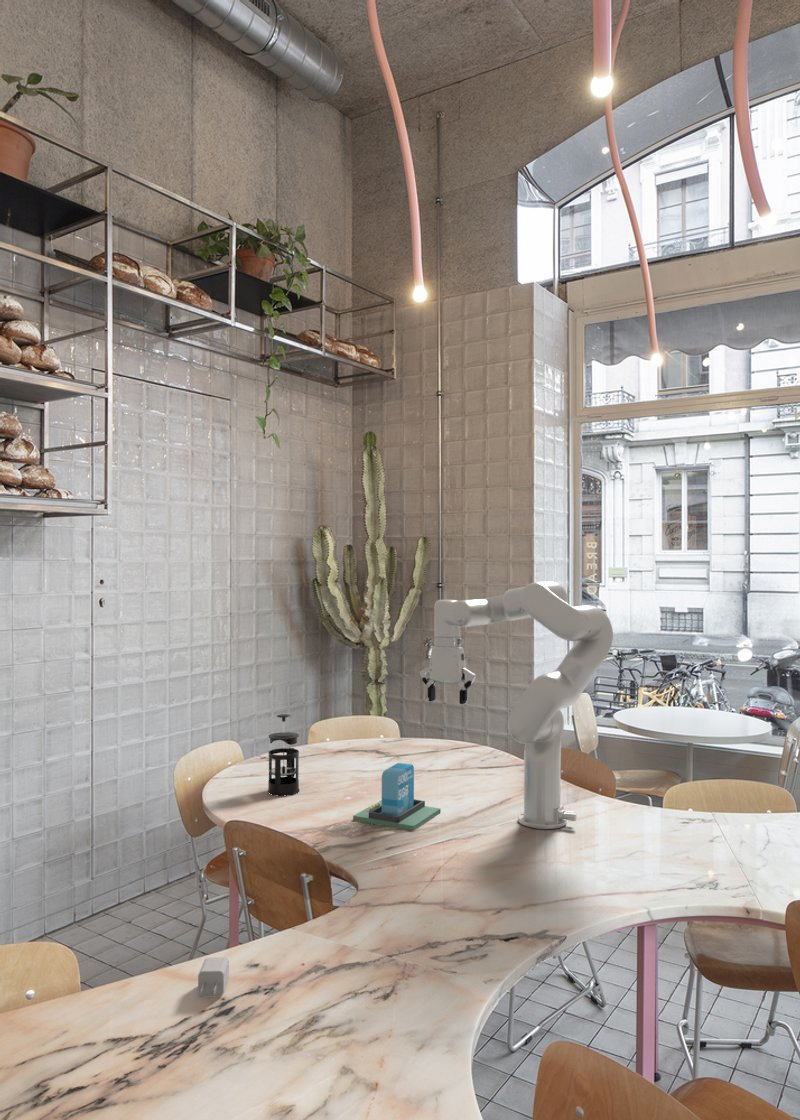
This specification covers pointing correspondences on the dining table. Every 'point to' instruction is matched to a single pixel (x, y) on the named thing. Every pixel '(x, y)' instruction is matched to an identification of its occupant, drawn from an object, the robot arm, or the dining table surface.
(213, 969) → the usb wall charger
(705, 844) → the dining table surface
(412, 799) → the data package
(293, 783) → the french press
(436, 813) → the circuit board
